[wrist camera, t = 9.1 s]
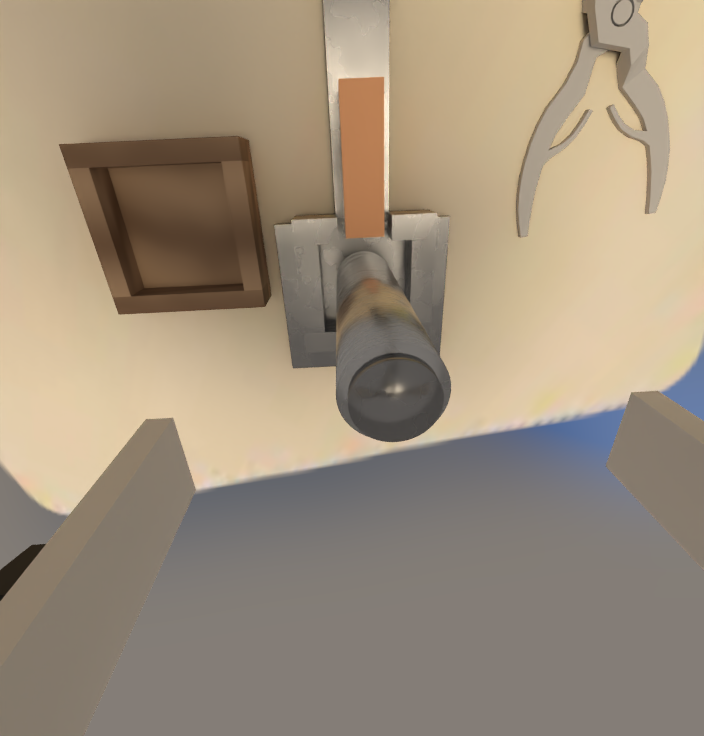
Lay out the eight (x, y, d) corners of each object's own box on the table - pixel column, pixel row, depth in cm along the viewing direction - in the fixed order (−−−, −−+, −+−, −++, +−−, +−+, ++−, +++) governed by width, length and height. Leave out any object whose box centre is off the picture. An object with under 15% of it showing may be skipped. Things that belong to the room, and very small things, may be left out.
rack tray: (88, 147, 23) (59, 144, 21) (248, 140, 23) (237, 136, 21) (138, 301, 28) (118, 314, 25) (271, 295, 28) (264, 306, 25)
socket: (244, -12, 20) (230, -42, 17) (464, -21, 20) (485, -52, 17) (293, 364, 31) (289, 383, 28) (437, 357, 31) (447, 375, 28)
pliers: (522, 239, 26) (535, -67, 19) (513, 236, 27) (521, -50, 20) (669, 213, 25) (737, -112, 18) (651, 211, 26) (709, -92, 20)
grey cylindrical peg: (334, 252, 26) (332, 352, 11) (391, 249, 26) (461, 345, 11) (338, 306, 28) (339, 453, 13) (390, 304, 28) (450, 447, 13)
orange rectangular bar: (338, 88, 21) (338, 78, 19) (379, 86, 22) (384, 76, 19) (345, 233, 25) (346, 238, 23) (380, 231, 25) (384, 236, 23)
